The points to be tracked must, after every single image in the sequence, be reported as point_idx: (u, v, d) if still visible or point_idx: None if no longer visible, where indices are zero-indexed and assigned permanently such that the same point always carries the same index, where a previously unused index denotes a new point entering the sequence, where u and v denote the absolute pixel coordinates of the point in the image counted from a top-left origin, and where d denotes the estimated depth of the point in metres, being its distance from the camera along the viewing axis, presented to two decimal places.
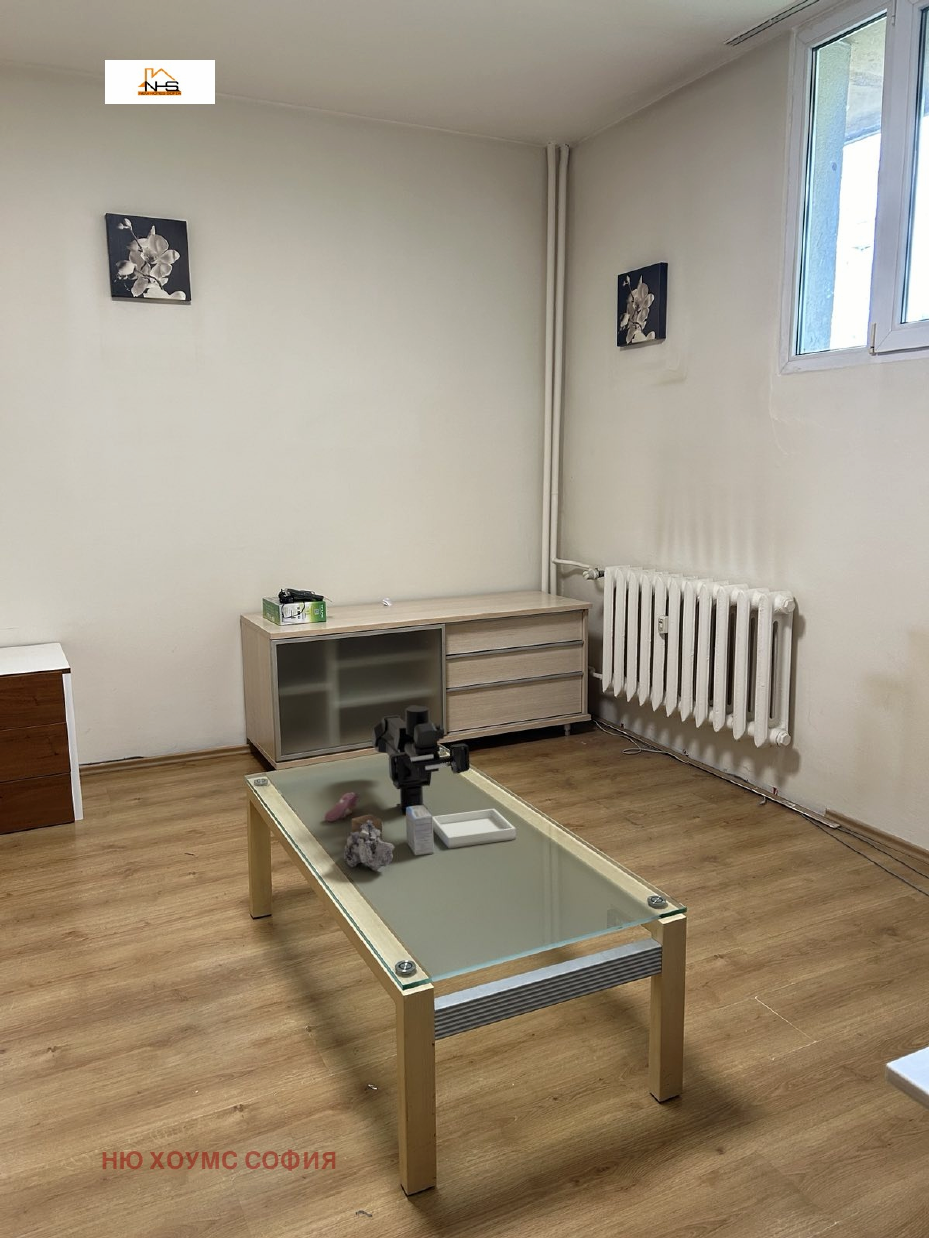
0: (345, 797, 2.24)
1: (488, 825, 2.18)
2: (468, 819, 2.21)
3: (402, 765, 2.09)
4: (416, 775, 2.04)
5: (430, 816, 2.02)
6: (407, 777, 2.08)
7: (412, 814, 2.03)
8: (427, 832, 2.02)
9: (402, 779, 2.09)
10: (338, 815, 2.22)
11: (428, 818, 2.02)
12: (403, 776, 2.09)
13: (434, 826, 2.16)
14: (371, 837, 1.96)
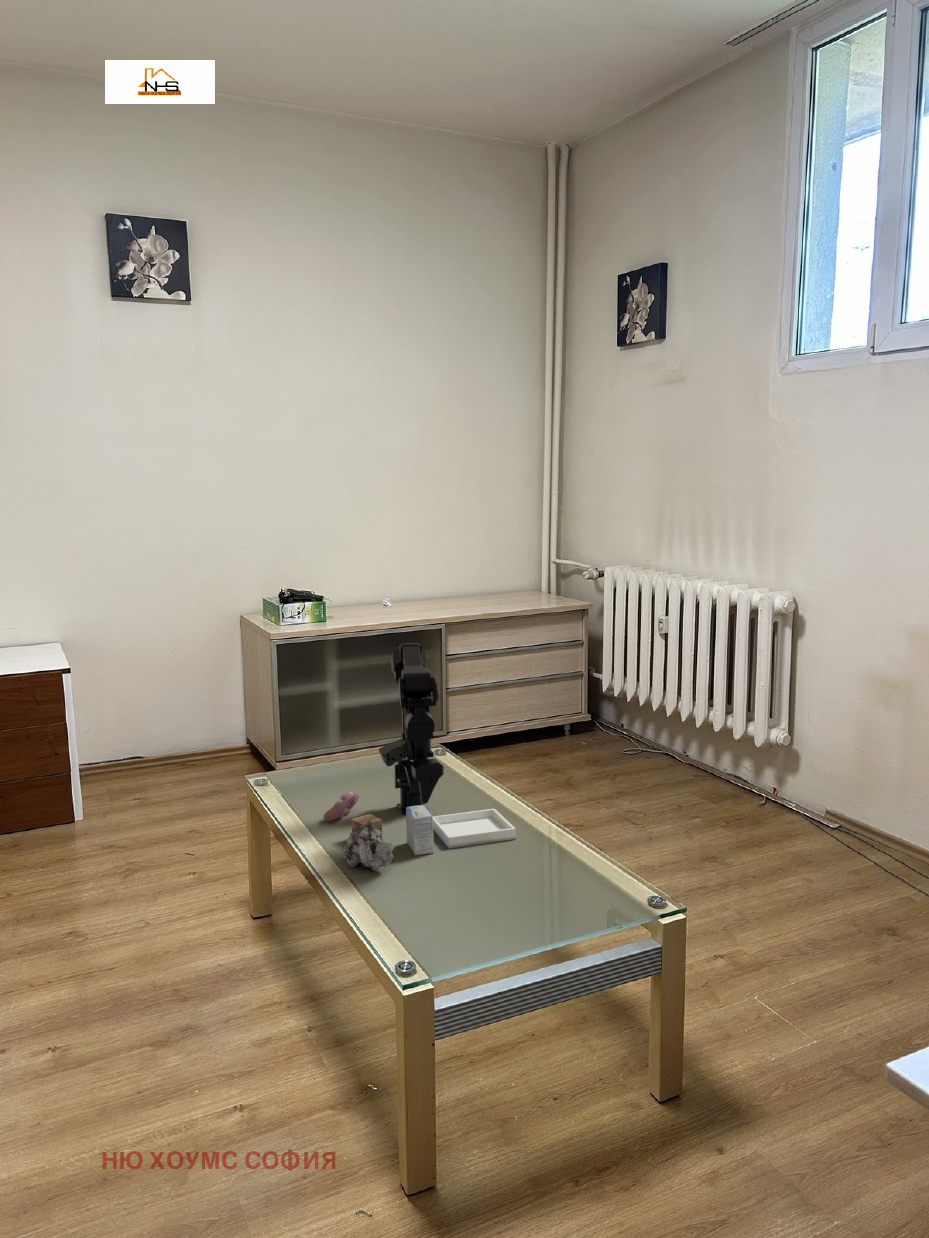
0: (343, 797, 2.24)
1: (488, 825, 2.18)
2: (468, 819, 2.21)
3: None
4: None
5: (430, 816, 2.02)
6: None
7: (412, 814, 2.03)
8: (427, 832, 2.02)
9: None
10: (337, 815, 2.22)
11: (428, 818, 2.02)
12: None
13: (434, 826, 2.16)
14: (371, 837, 1.96)
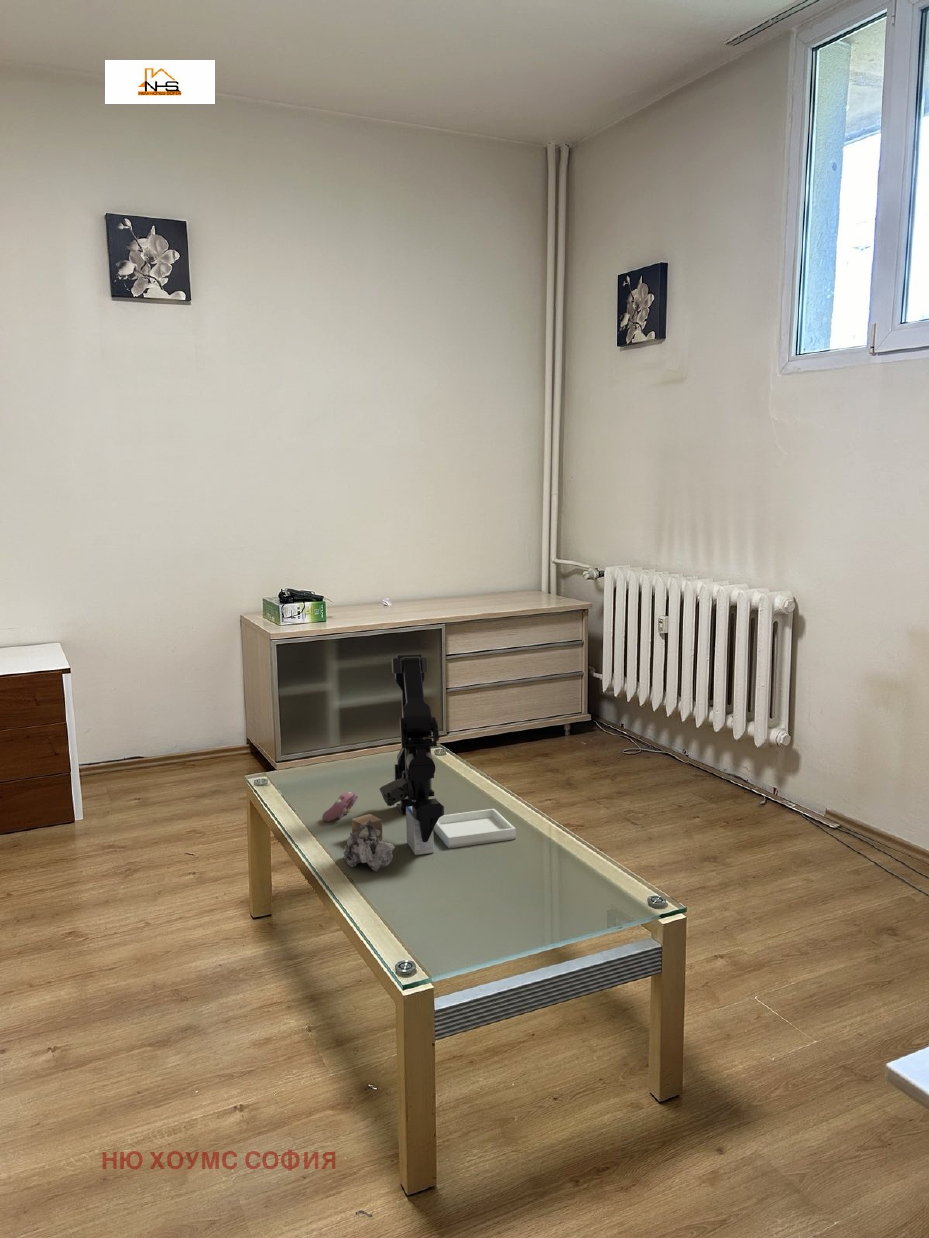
0: (342, 797, 2.24)
1: (488, 825, 2.18)
2: (468, 819, 2.21)
3: None
4: None
5: None
6: None
7: None
8: None
9: None
10: (336, 815, 2.22)
11: None
12: None
13: None
14: (371, 837, 1.96)
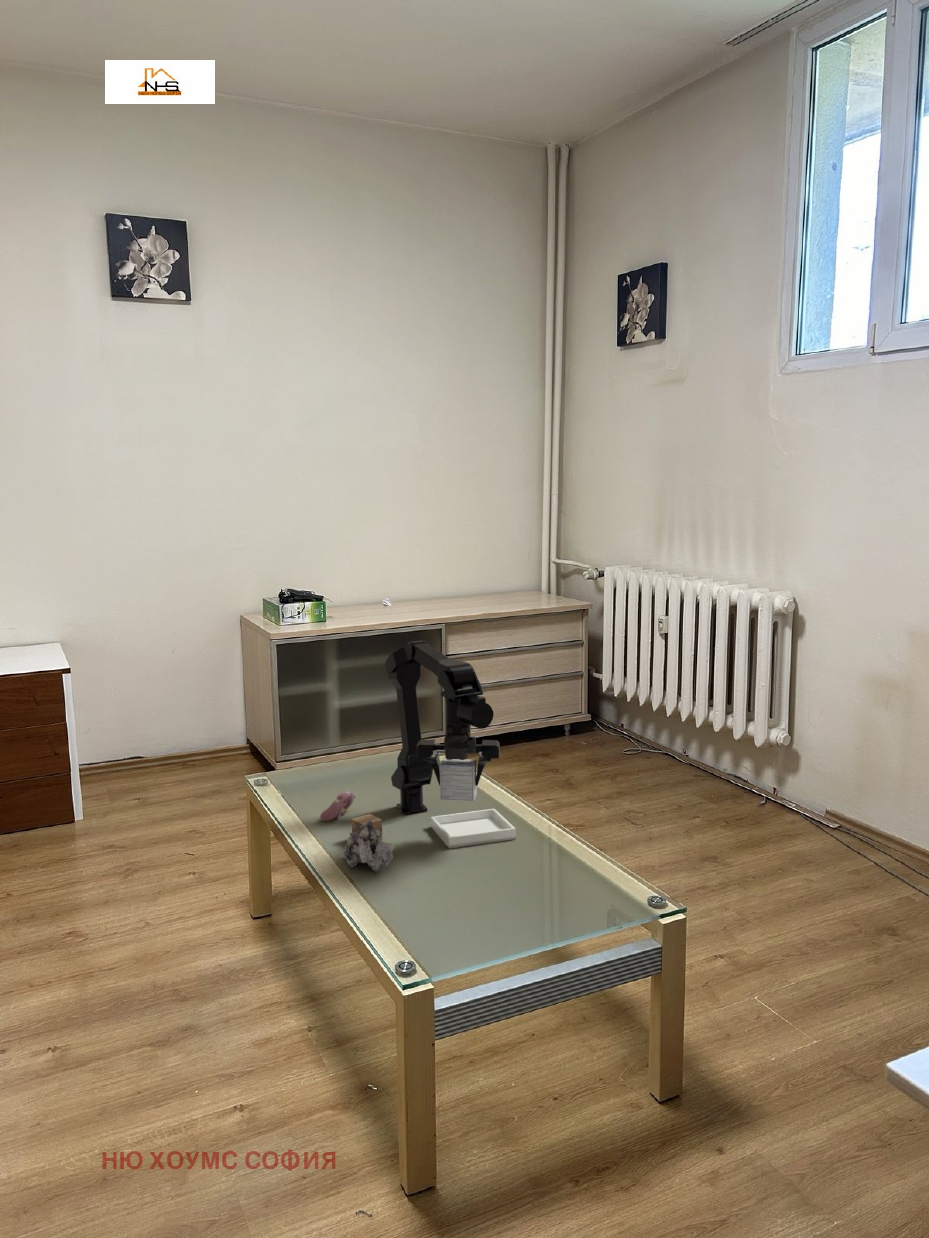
0: (340, 797, 2.24)
1: (488, 825, 2.18)
2: (468, 819, 2.21)
3: None
4: (438, 780, 2.11)
5: (474, 760, 2.11)
6: None
7: (461, 764, 2.08)
8: (475, 776, 2.11)
9: None
10: (333, 815, 2.22)
11: (475, 763, 2.10)
12: None
13: (434, 826, 2.16)
14: (371, 837, 1.96)
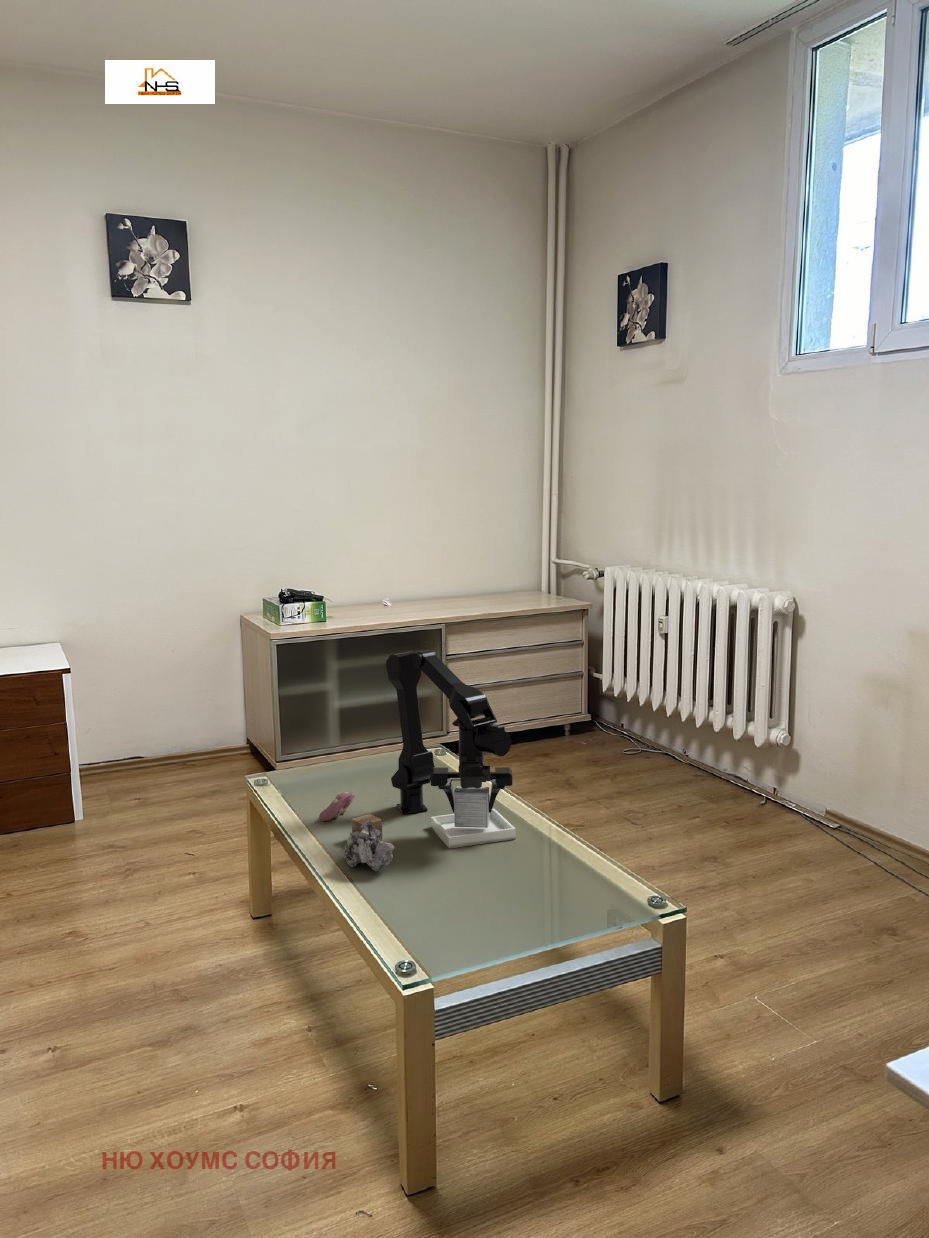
0: (339, 796, 2.25)
1: None
2: None
3: None
4: (451, 807, 2.14)
5: (487, 787, 2.14)
6: None
7: (475, 792, 2.11)
8: None
9: None
10: (332, 815, 2.22)
11: (488, 790, 2.14)
12: None
13: (434, 826, 2.16)
14: (371, 837, 1.96)
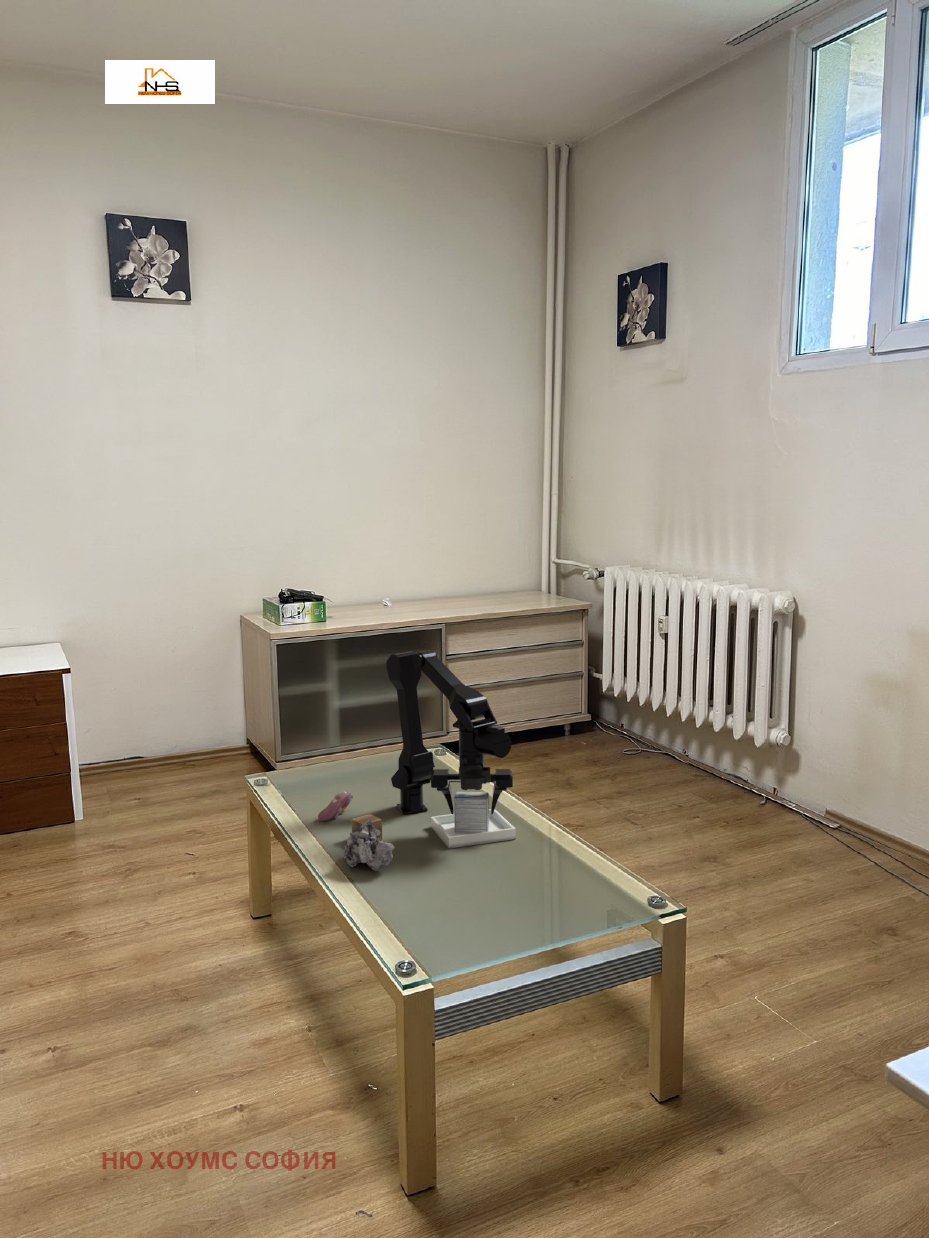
0: (338, 796, 2.25)
1: None
2: None
3: None
4: (450, 809, 2.14)
5: (487, 793, 2.15)
6: None
7: (475, 797, 2.12)
8: None
9: None
10: (331, 815, 2.22)
11: (488, 795, 2.14)
12: None
13: (434, 826, 2.16)
14: (371, 837, 1.96)
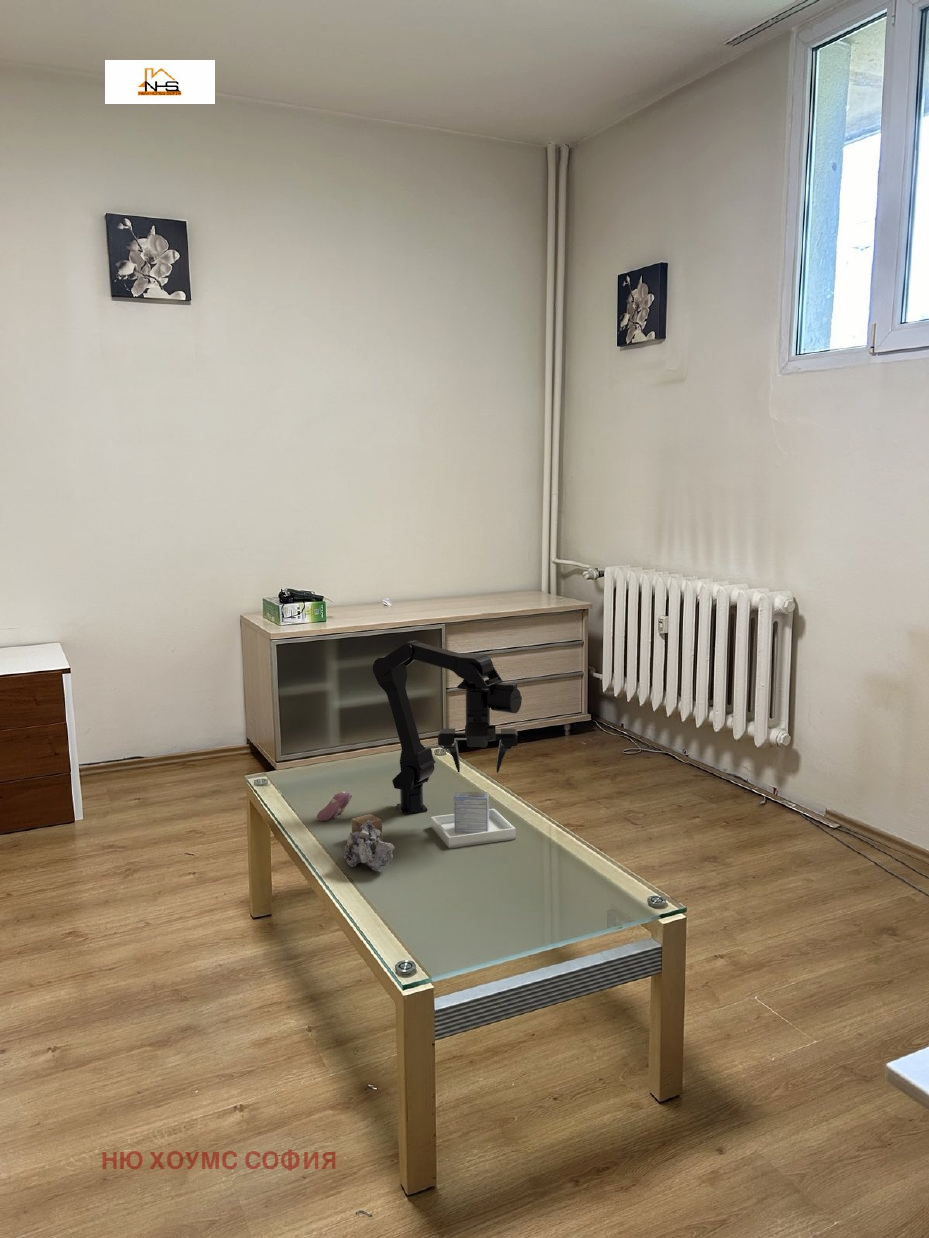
0: (336, 796, 2.25)
1: None
2: None
3: None
4: (456, 767, 2.20)
5: (487, 793, 2.15)
6: None
7: (475, 797, 2.12)
8: None
9: None
10: (330, 814, 2.22)
11: (488, 795, 2.14)
12: None
13: (434, 826, 2.16)
14: (371, 837, 1.96)
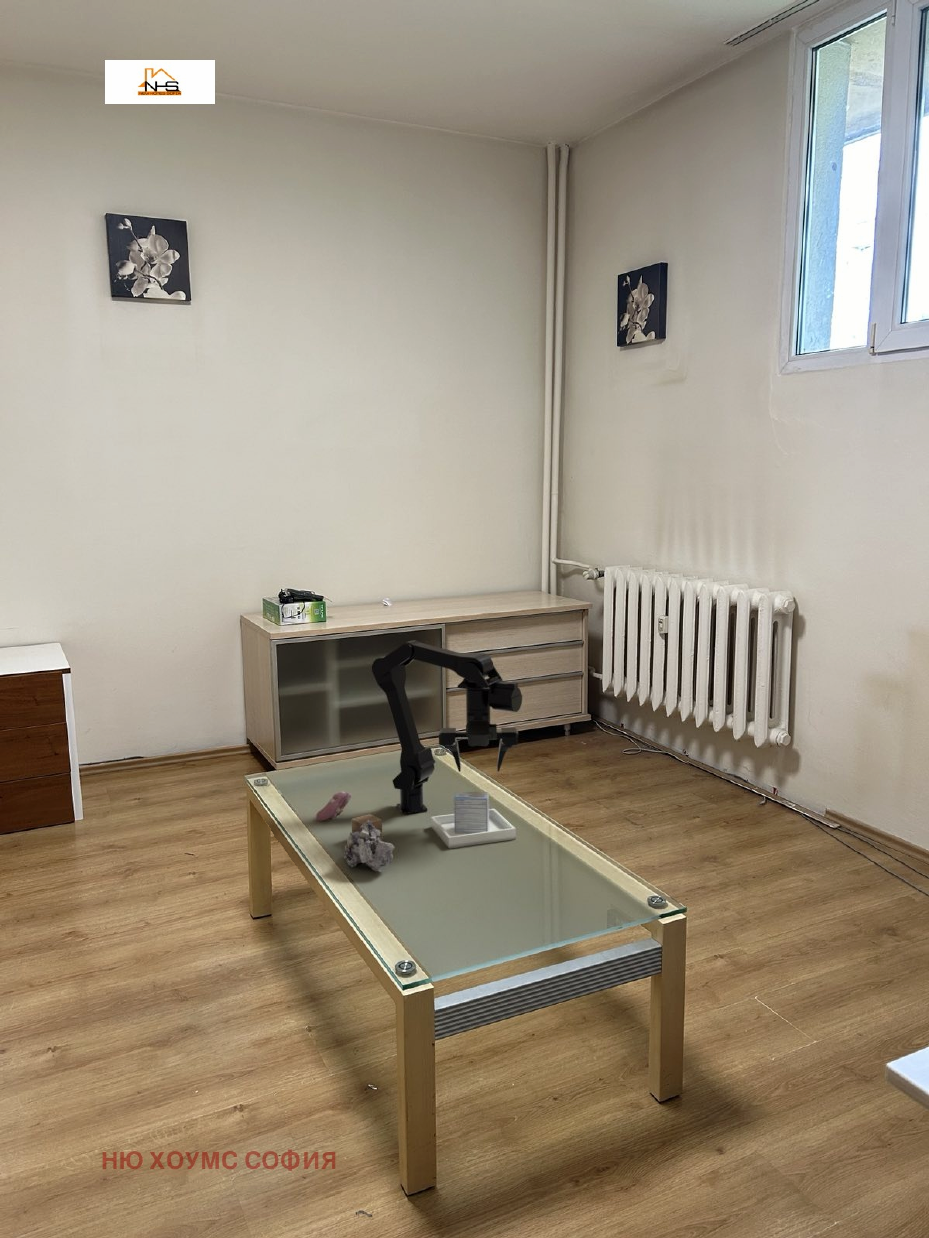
0: (336, 796, 2.25)
1: None
2: None
3: None
4: None
5: (487, 793, 2.15)
6: None
7: (475, 797, 2.12)
8: None
9: None
10: (329, 814, 2.22)
11: (488, 795, 2.14)
12: None
13: (434, 826, 2.16)
14: (371, 837, 1.96)
